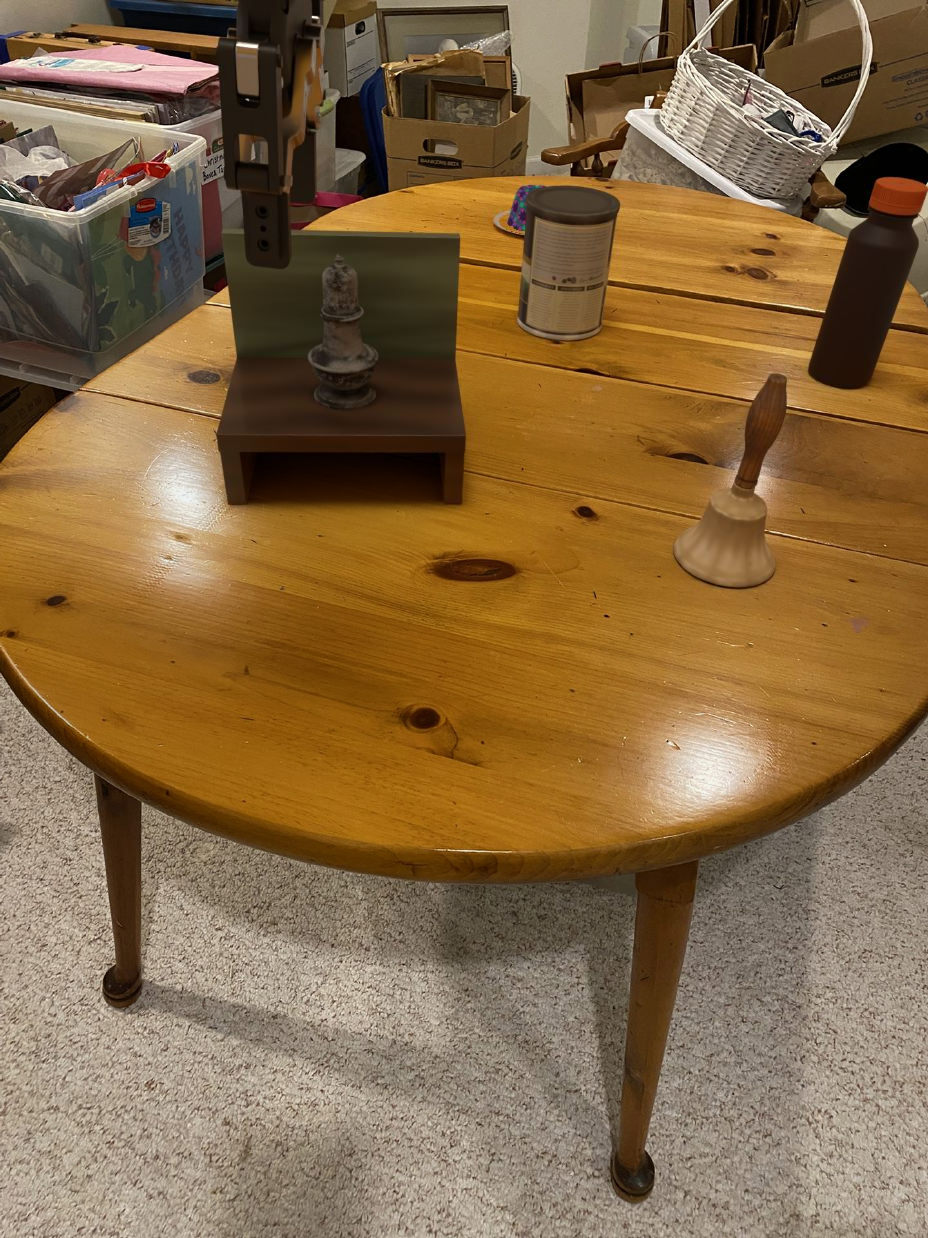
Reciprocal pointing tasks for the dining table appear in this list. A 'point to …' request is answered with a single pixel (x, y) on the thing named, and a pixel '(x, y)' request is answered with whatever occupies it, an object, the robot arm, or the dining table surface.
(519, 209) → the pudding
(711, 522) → the hand bell
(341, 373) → the grey turned spindle
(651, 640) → the dining table surface
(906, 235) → the bottle
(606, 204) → the coffee can
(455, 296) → the shelf
